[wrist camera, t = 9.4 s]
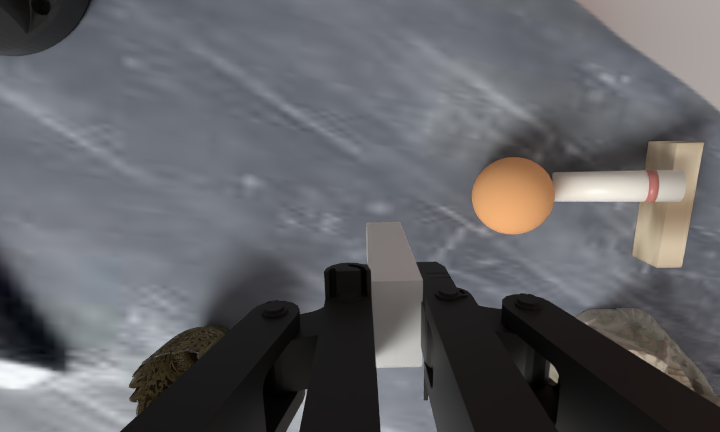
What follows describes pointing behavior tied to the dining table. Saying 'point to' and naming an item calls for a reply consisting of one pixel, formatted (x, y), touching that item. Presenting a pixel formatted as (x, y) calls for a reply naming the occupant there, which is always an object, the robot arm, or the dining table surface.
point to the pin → (620, 186)
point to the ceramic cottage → (646, 345)
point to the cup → (171, 363)
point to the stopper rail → (667, 206)
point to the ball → (513, 195)
